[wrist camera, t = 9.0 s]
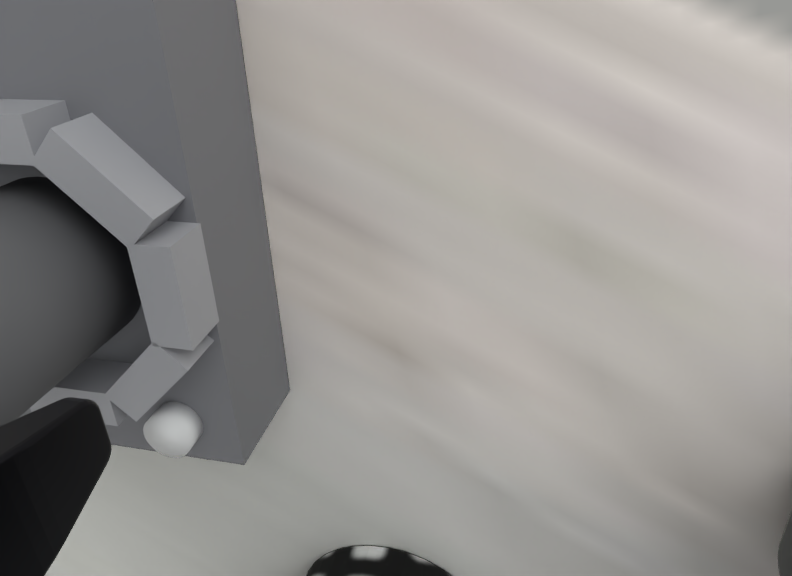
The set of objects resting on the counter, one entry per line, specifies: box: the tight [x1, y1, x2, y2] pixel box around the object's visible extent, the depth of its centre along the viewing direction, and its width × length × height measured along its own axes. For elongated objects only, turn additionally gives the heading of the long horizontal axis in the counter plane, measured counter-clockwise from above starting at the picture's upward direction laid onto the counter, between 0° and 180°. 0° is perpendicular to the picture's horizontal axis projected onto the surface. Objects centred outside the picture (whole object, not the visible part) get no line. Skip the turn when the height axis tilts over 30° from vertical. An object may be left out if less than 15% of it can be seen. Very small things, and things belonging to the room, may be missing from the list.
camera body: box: [0, 0, 290, 465], centre depth 19 cm, size 9×14×6 cm, turn 2°
